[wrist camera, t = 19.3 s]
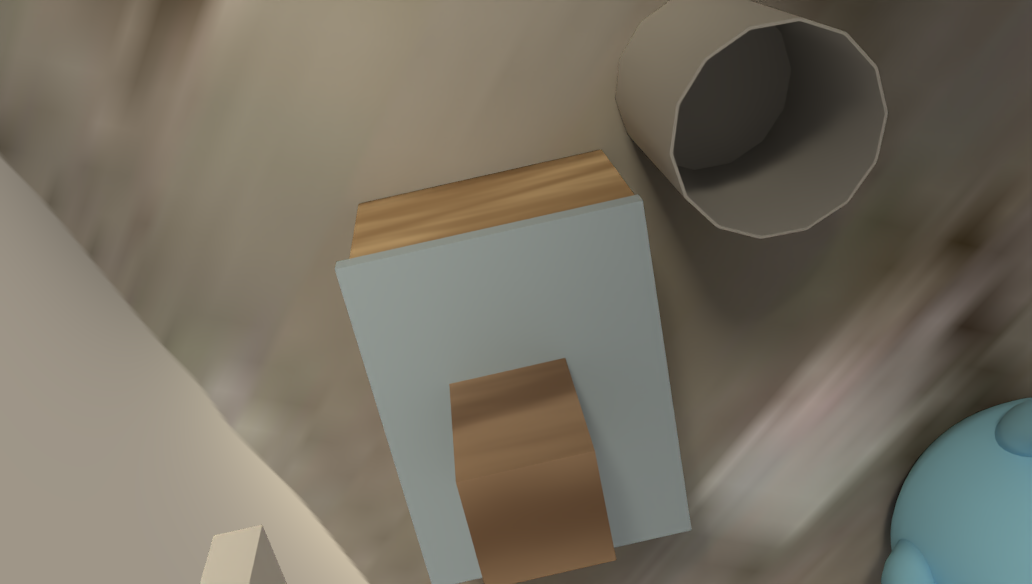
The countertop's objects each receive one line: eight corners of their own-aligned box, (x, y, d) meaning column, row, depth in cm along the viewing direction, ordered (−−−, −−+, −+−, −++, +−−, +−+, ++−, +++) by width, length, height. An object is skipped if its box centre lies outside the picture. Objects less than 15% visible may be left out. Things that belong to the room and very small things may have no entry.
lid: (336, 261, 37) (334, 269, 36) (638, 194, 37) (642, 200, 36) (432, 577, 43) (433, 588, 43) (686, 519, 44) (691, 530, 43)
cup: (736, -48, 41) (828, -30, 32) (817, 99, 44) (922, 153, 35) (581, 64, 42) (628, 111, 33) (671, 199, 46) (735, 276, 37)
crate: (358, 203, 44) (348, 265, 37) (601, 149, 44) (638, 200, 37) (435, 472, 51) (439, 570, 43) (646, 423, 51) (685, 513, 44)
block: (449, 384, 38) (456, 482, 32) (565, 357, 38) (594, 450, 32) (474, 479, 40) (485, 590, 34) (584, 454, 40) (616, 560, 34)
